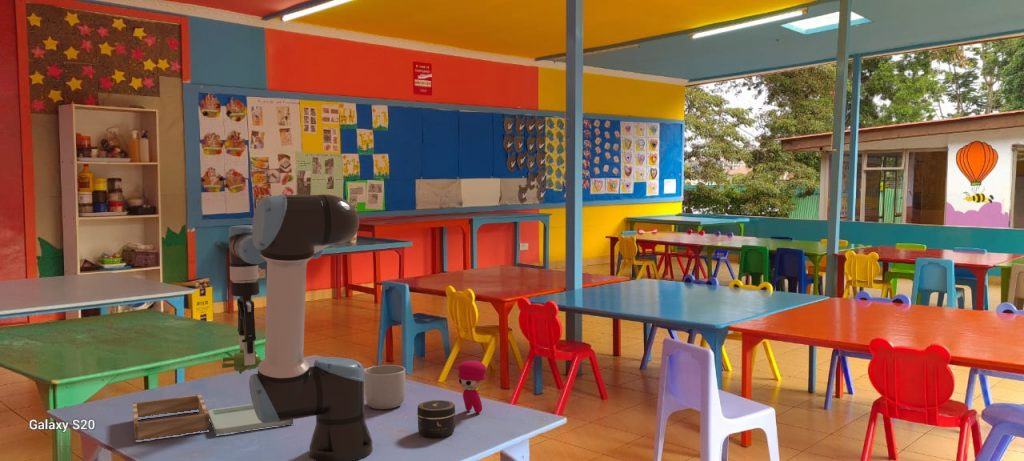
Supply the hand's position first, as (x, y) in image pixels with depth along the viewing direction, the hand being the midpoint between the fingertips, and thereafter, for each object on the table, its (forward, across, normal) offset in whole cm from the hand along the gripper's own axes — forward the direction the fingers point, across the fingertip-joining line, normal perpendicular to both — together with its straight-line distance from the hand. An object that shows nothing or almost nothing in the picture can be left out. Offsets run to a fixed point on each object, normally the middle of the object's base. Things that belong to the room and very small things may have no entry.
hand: (247, 361), depth 212 cm
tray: (+17, 0, 0) cm, 17 cm away
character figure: (+2, -1, +1) cm, 3 cm away
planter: (+17, -5, -38) cm, 42 cm away
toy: (+17, -24, -58) cm, 65 cm away
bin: (+17, +6, +20) cm, 27 cm away
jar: (+17, -36, -42) cm, 58 cm away
